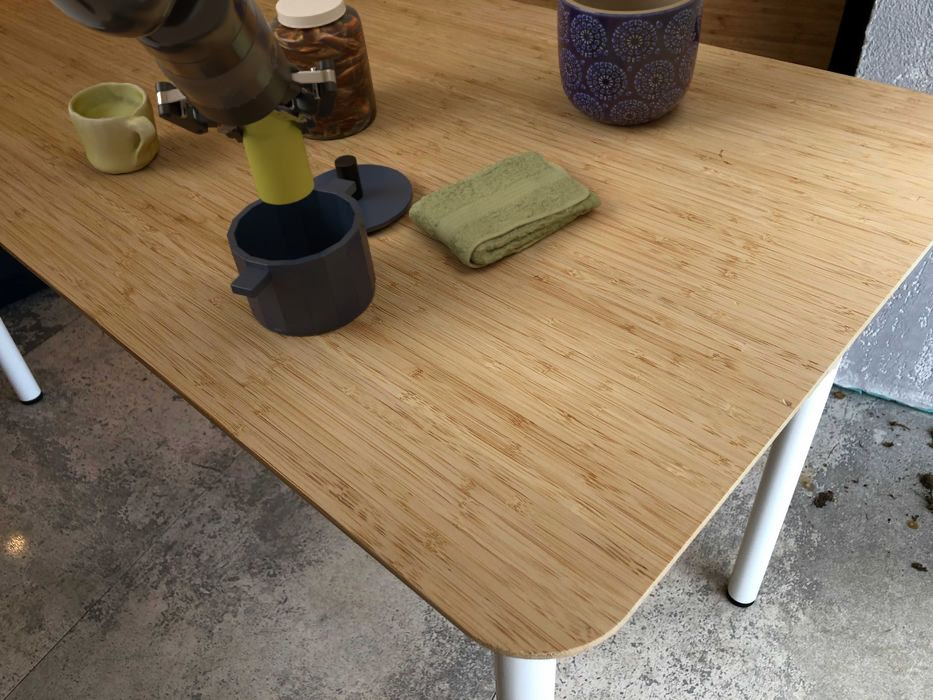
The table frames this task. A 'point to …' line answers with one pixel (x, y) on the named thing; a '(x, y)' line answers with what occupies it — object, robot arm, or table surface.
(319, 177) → the lid
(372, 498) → the table surface
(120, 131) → the mug
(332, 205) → the pot
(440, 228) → the washcloth
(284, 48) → the jar
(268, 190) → the pear
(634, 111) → the planter
